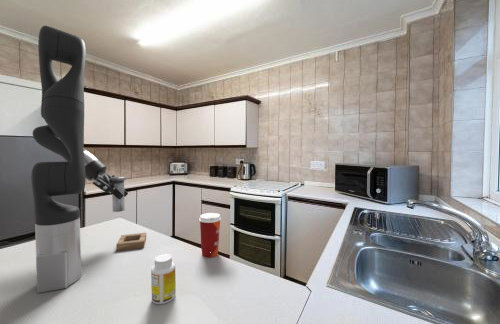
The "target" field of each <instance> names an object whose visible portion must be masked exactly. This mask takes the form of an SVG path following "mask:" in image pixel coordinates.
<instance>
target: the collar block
mask: <svg viewBox="0 0 500 324" xmlns="http://www.w3.org/2000/svg"><path fill="white" fill-rule="evenodd" d="M146 241H147V232H139V233H132V234H131V233H130V234H121V235H120V237H119V239H118V241H117V243H116V247H115V249H116V251H117V252H120V251H127V250H134V249H135V250H136V249H143V248H145V245H146Z"/></svg>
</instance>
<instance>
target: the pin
mask: <svg viewBox="0 0 500 324" xmlns="http://www.w3.org/2000/svg"><path fill="white" fill-rule="evenodd" d="M126 180H127V177H126V176H115V177H111V178H110V181H112V182H113V185H114V186H115V188H116V189H118V190H119V191H120V192H121V193H122V194H123V195H124V190H125V181H126ZM111 194H112V193H111ZM111 199H112V200H111V201H112V212H113V213H119V212H124V211H125V210H126V209H125V208H126V206H125V197H124V196H123V197H122V198H121V199H118V198H116V197H115V196H114V195H113V194H112V197H111Z"/></svg>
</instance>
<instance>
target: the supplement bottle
mask: <svg viewBox="0 0 500 324" xmlns="http://www.w3.org/2000/svg"><path fill="white" fill-rule="evenodd" d="M150 275H151V276H150V278H151V279H150V280H151V283H150V284H151V285H150V286H151V300H152V302H153V303H154V304H156V305H164V304H167V303H169V302H171V301H172V300H173V299H174V298H175V296H176V293H177V292H176V287H177V286H176V283H177V282H176V264H175V262H173V256H172V254H169V253H164V254H160V255H159V254H158V256H156V257H155V258H154V265H152V267H151V269H150Z"/></svg>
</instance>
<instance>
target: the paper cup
mask: <svg viewBox="0 0 500 324" xmlns="http://www.w3.org/2000/svg"><path fill="white" fill-rule="evenodd" d="M198 220H199V224H200V226H199V227H200V243H201V244H200V246H201V255H202V257H203V258H206V259H211V258H215V257H217V256H218V254H219V244H220V242H219V241H220V229H221V228H220V227H221V220H222V218H221V215H220V213H216V212H207V213H203V214H200V216H199V218H198ZM210 252H211V253H210Z"/></svg>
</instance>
